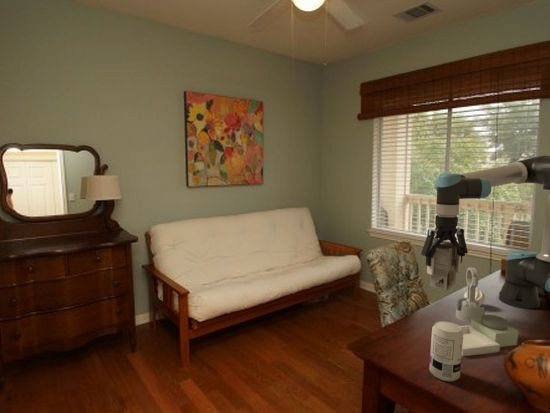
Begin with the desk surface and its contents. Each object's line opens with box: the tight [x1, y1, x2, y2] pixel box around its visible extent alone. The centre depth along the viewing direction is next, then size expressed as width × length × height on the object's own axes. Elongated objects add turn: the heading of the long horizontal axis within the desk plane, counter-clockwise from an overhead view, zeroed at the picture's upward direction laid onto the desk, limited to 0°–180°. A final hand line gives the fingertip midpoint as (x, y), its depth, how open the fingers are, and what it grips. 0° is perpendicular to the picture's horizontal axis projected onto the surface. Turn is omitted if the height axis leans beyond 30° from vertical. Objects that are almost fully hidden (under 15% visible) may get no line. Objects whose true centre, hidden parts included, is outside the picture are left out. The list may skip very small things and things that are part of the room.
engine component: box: [455, 267, 486, 324], centre depth 139 cm, size 11×20×10 cm
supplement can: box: [429, 320, 463, 382], centre depth 102 cm, size 8×8×15 cm
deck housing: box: [459, 314, 519, 357], centre depth 121 cm, size 24×14×7 cm, turn 101°
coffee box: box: [429, 241, 457, 291], centre depth 131 cm, size 9×6×16 cm
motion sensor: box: [463, 287, 486, 307], centre depth 150 cm, size 8×8×8 cm
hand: (443, 272), depth 131 cm, fingers closed on coffee box, 11 cm apart
